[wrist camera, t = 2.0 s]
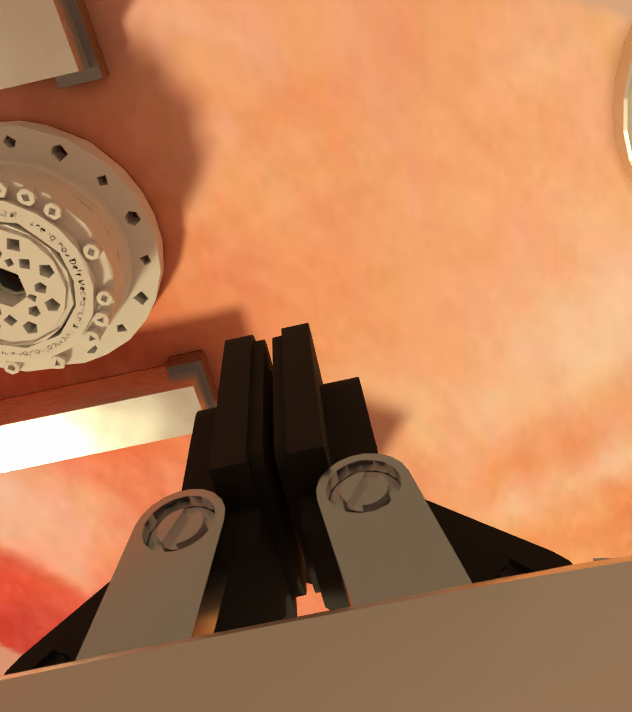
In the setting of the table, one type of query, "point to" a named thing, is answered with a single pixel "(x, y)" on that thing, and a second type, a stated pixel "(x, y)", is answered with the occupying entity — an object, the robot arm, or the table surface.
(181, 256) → the table surface
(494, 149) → the table surface
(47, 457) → the bar rails
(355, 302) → the table surface
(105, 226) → the mechanical component
